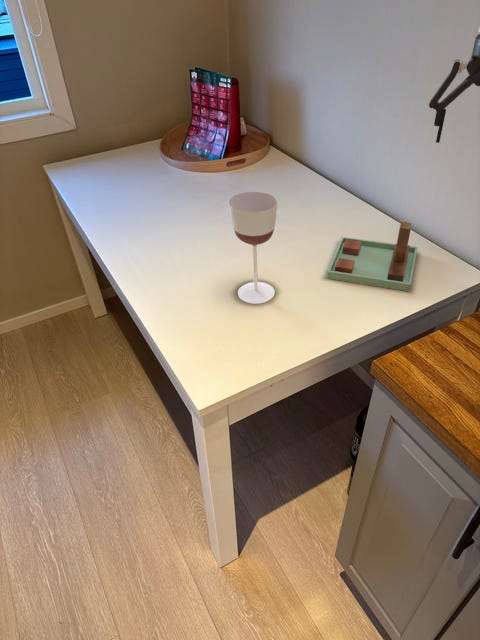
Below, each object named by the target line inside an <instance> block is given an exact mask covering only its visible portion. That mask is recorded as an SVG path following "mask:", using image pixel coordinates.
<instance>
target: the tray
mask: <svg viewBox="0 0 480 640" xmlns="http://www.w3.org/2000/svg"><path fill="white" fill-rule="evenodd" d="M346 240H352V241H360V242H361V249H360V252H359V254H358V256H354V255H347V254H342V251H343V246H344V243H345V241H346ZM395 244H396V243H391V242H384V241H376V240H369V239H363V238H362V239H361V238H355V237H347V236H341V237H340V239H339V243H338V245H337V247H336V250H335V252H334V254H333V257H332V259H331V261H330V264H329V266H328V269H327V272H326V279H329V280H335V281H342V282H347V283H354V284H360V285H367V286H372V287H378V288H384V289H392V290H397V291H404V292H409V293H410V291H411V287H412V281H413V276H414V270H415V265H416V259H417V254H418V249H419V247H418V246H414V245H409V246H410V248H409V253H408V258H407V263H406V268H405V273H404V278H403V282H400V281H394V280H387V277H388V272H389V268H390V264H391V260H392V256H393V252H394V248H395ZM338 258H342V259H349V260H355V264H354V269H353V272H352V274H349V273H343V272H336V271H335V266H336V263H337V261H338Z"/></svg>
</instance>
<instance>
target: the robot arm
mask: <svg viewBox="0 0 480 640" xmlns="http://www.w3.org/2000/svg"><path fill="white" fill-rule="evenodd" d="M477 32H478V33H479V34H477V35H476V36H475V39H474V43H473V48H472V52H471V57H470V59H469V60H468V62H467V61H461V60H460V59H459V58H457V59H455V60H454V61H453V64H452V67H451V71H450V72H449V73H448V75H447V76H446V78H445V79H444V81H442V83H441V84H440V86H439V87H438V89H437V90H436V92H435V93H434V95H433V96H432V97H431V99H430V101H429V103H428V107H429V109H433V110H435V117H434V123H433V125H434V127H438V130H437V133H436V134H437V135H436V139H435V144H436V143H437V144H439V143H441V136H442V131H443V127H444V122H445V118H446V113H447V107H448V106H449V105H451V103H453V102H454V101H455V100H456V99H457V98H458V97H459V96H461V95H462V94H463V93H464V92H465V91H466V90H467V89H468V88H470V87H471V86H472V85H475V86H476V87H480V20H479V21H478V26H477ZM463 70H466V71H467V74H468V76H467V77H466V78H465V79H463V80H462V82H461V83H459V84H458V85H457V86H456V87H455V88H454V89H453V90H452V91H451V92H450V93H448V95H446V97H444V98H443V99H442V100H441V101H440V99H441V98H442V97H443V96H444V94H445V92H446V91H447V90H448V88H449V87H450V85H451V84H452V83H453V81H454V80H455V78H456V77H457V75H458V74H461V73H462V72H463Z"/></svg>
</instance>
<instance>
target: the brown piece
mask: <svg viewBox="0 0 480 640" xmlns="http://www.w3.org/2000/svg"><path fill="white" fill-rule="evenodd" d="M412 225H413V223H412V222H407V221H406V222H405V221H400V224H399V228H398V235H397V240H396V243H394V244H395V248H394V252H393V256H392V260H391V264H390V268H389V272H388V277H387V280H394V281H400V282H403V278H404V273H405V268H406V263H407V258H408V253H409V248H410V246H411V245H409V241H410V240H409V239H410V234H411V231H412V230H411V229H412Z"/></svg>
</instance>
